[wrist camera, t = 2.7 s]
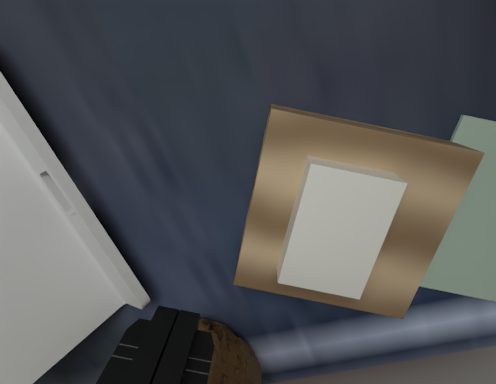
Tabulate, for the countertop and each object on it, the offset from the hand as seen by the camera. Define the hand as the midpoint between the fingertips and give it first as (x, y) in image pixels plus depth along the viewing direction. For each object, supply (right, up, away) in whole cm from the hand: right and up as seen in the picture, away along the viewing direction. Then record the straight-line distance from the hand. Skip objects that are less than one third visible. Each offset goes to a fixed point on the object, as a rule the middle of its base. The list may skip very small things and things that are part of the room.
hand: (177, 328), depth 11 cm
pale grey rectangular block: (+9, +3, +11) cm, 14 cm away
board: (+10, +4, +15) cm, 18 cm away
